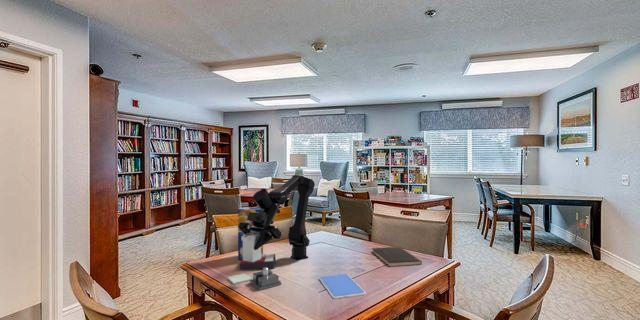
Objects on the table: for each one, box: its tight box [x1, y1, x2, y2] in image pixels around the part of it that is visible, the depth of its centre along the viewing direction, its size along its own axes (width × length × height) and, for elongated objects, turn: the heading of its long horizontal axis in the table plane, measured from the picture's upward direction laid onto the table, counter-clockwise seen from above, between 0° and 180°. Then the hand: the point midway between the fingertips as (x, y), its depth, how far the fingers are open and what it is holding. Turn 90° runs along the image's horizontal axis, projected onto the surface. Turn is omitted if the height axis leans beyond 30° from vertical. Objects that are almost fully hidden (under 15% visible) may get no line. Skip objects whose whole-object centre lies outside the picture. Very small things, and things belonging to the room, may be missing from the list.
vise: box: [249, 267, 282, 291], centre depth 121 cm, size 9×9×6 cm
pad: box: [226, 272, 253, 285], centre depth 126 cm, size 8×8×1 cm
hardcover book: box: [371, 246, 423, 267], centre depth 153 cm, size 16×23×2 cm
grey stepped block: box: [241, 232, 261, 262], centre depth 122 cm, size 7×5×10 cm
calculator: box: [239, 253, 277, 271], centre depth 142 cm, size 11×4×15 cm
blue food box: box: [237, 206, 264, 261], centre depth 155 cm, size 12×8×24 cm, turn 100°
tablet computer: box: [318, 273, 367, 300], centre depth 118 cm, size 19×13×1 cm, turn 16°
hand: (249, 248), depth 122 cm, fingers closed on grey stepped block, 5 cm apart
